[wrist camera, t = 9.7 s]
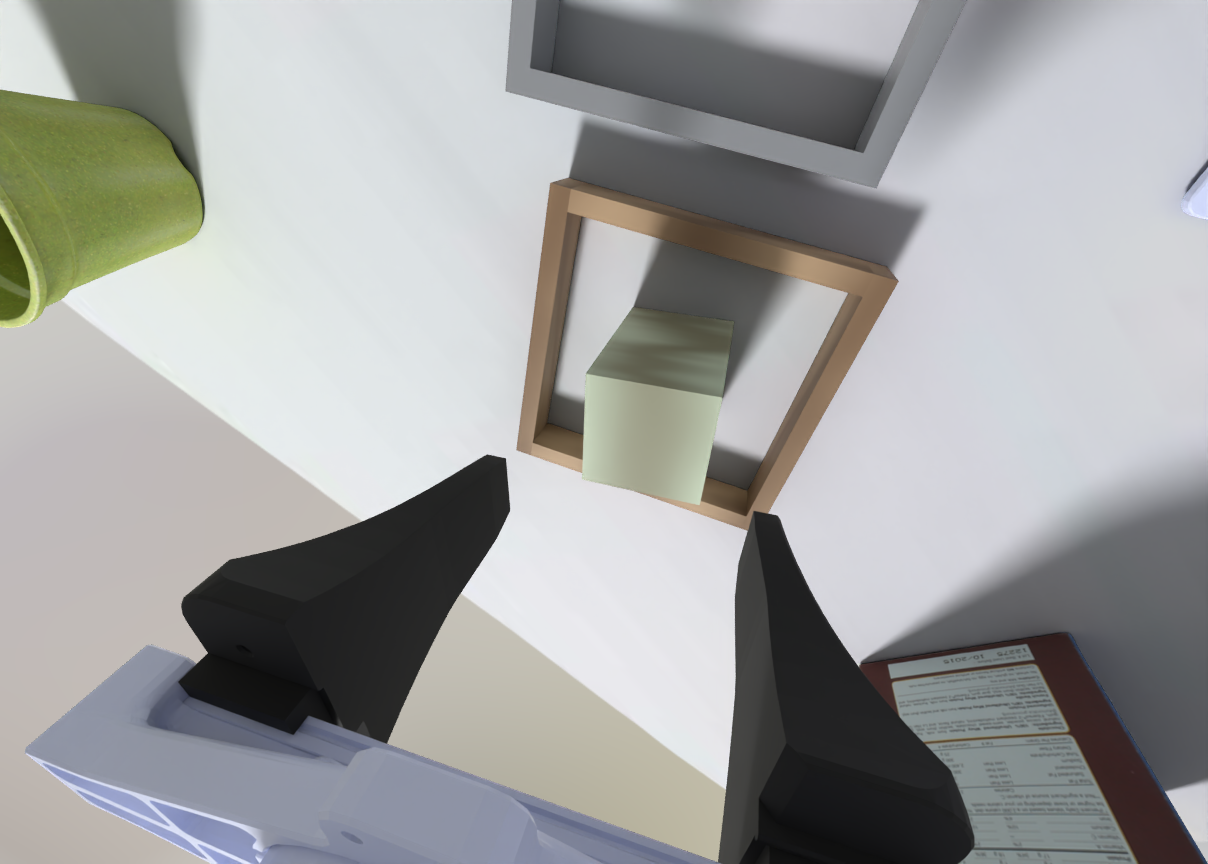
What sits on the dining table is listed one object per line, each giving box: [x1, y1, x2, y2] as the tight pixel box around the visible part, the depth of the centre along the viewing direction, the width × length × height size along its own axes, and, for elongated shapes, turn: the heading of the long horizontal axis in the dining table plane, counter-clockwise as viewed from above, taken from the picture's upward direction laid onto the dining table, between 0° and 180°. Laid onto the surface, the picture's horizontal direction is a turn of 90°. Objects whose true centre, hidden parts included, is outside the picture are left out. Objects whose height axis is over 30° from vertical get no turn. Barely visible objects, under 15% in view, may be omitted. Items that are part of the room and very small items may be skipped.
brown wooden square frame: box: [517, 178, 898, 531], centre depth 22 cm, size 13×13×2 cm
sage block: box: [582, 307, 734, 505], centre depth 19 cm, size 4×4×7 cm
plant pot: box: [0, 90, 203, 328], centre depth 21 cm, size 9×9×9 cm
